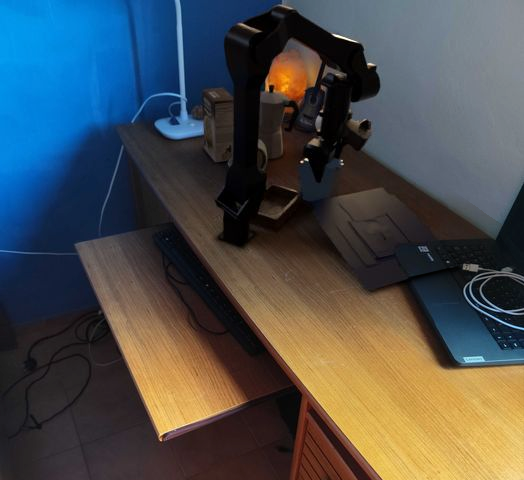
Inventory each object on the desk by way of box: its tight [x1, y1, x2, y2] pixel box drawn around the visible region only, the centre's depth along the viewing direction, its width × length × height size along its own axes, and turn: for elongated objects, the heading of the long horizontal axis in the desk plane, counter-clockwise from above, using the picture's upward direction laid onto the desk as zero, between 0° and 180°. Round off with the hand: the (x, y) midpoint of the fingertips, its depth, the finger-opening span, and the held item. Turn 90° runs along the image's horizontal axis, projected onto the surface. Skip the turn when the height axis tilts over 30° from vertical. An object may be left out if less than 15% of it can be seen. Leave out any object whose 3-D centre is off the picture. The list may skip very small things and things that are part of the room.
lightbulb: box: [314, 115, 324, 141], centre depth 134 cm, size 6×6×11 cm
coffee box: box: [201, 87, 234, 163], centre depth 127 cm, size 9×6×16 cm
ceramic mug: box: [227, 139, 268, 171], centre depth 125 cm, size 11×8×8 cm
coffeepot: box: [258, 84, 301, 160], centre depth 129 cm, size 15×9×18 cm, turn 60°
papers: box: [309, 187, 440, 292], centre depth 106 cm, size 24×30×4 cm
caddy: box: [250, 182, 303, 232], centre depth 113 cm, size 15×9×3 cm, turn 152°
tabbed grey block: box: [297, 157, 345, 203], centre depth 115 cm, size 6×11×10 cm, turn 59°
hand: (325, 174), depth 113 cm, fingers open, 9 cm apart
